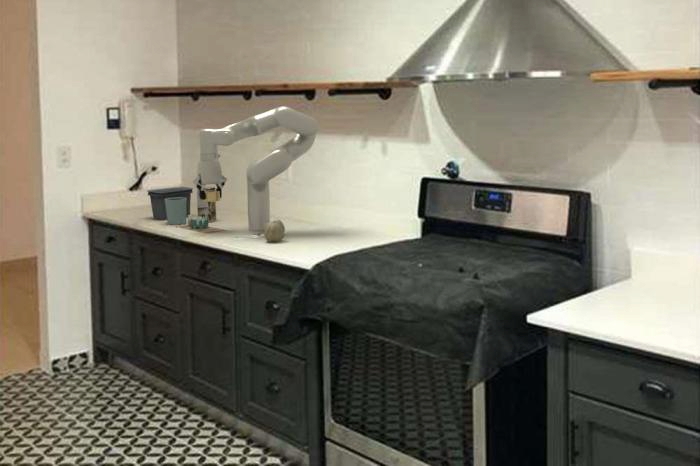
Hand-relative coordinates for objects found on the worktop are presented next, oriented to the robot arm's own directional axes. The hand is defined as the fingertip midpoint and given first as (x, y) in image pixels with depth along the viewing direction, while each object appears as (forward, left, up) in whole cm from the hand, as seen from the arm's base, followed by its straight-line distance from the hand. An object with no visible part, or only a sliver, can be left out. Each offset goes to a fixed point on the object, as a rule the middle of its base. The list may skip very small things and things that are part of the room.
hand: (210, 198), depth 353 cm
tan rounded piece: (-34, +7, -16) cm, 38 cm away
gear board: (+8, -4, -16) cm, 18 cm away
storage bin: (+48, -36, -16) cm, 62 cm away
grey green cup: (+33, -20, -16) cm, 42 cm away
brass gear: (0, 0, -1) cm, 1 cm away
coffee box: (+23, -31, -16) cm, 42 cm away
